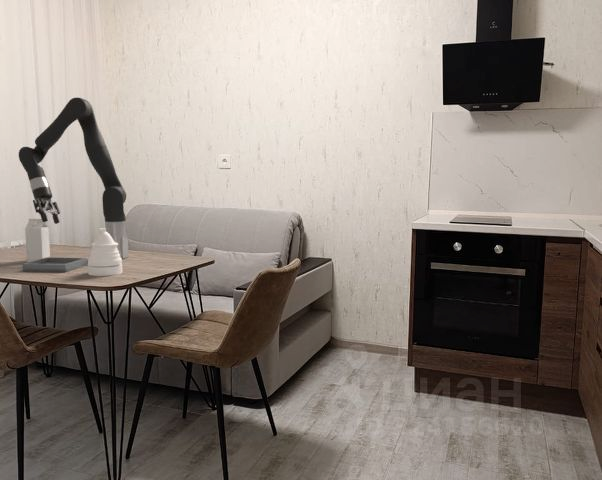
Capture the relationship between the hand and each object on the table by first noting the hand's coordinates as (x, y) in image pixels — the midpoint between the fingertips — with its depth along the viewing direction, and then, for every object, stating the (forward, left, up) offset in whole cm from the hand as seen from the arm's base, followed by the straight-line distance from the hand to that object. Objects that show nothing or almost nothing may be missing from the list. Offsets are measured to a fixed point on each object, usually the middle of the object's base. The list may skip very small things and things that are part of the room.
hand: (51, 222), depth 248 cm
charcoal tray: (-12, +19, -17) cm, 28 cm away
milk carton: (+5, +3, -17) cm, 18 cm away
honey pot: (-37, +27, -17) cm, 49 cm away
